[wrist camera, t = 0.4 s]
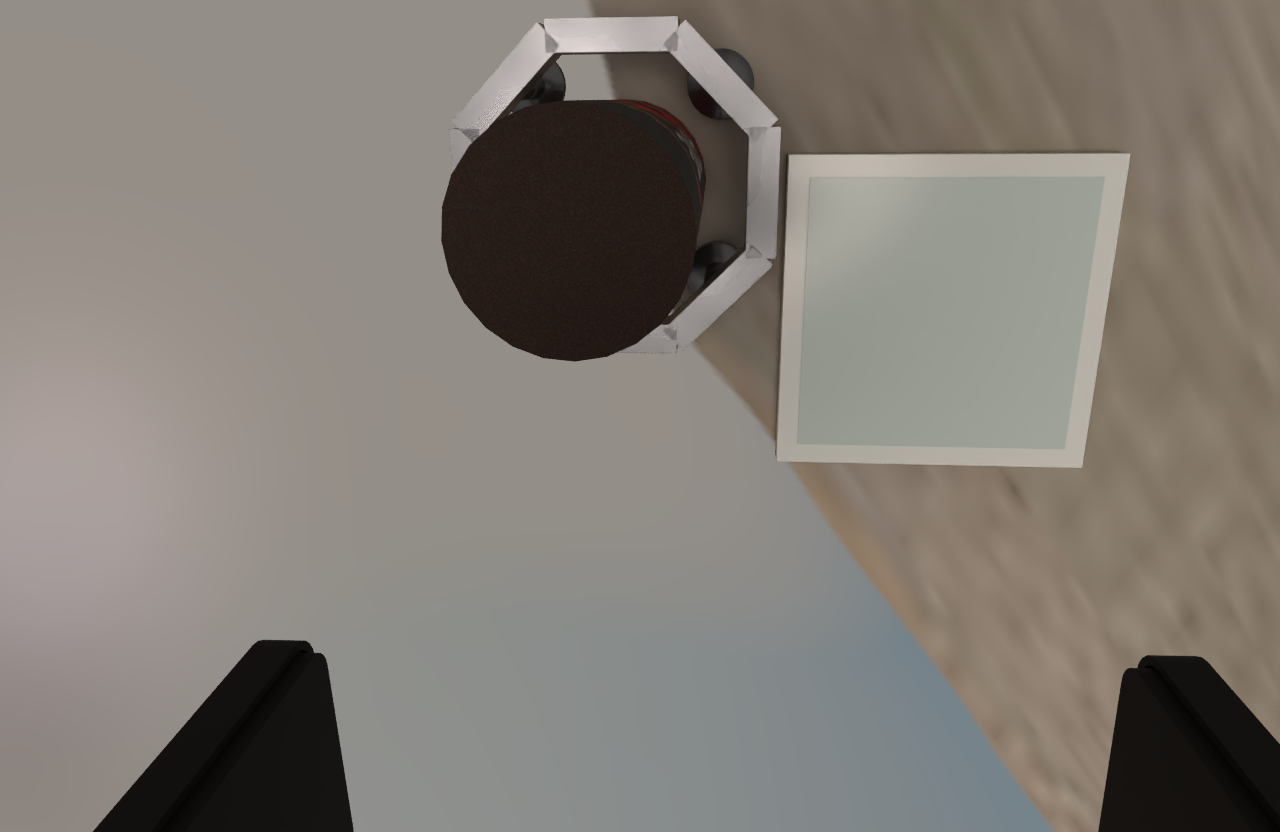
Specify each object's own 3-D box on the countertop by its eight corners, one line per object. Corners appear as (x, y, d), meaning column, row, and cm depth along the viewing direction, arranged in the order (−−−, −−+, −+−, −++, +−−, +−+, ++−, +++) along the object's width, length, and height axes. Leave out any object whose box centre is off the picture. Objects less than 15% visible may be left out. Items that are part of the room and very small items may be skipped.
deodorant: (738, 178, 35) (751, 231, 21) (631, 290, 37) (577, 410, 23) (623, 64, 34) (555, 40, 20) (519, 185, 36) (389, 241, 22)
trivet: (787, 153, 35) (789, 155, 34) (1121, 152, 34) (1131, 153, 33) (775, 454, 39) (776, 462, 38) (1074, 460, 38) (1082, 468, 37)
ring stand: (479, 30, 34) (441, 20, 30) (775, 26, 33) (784, 14, 29) (496, 319, 38) (464, 350, 33) (765, 321, 37) (772, 354, 32)
